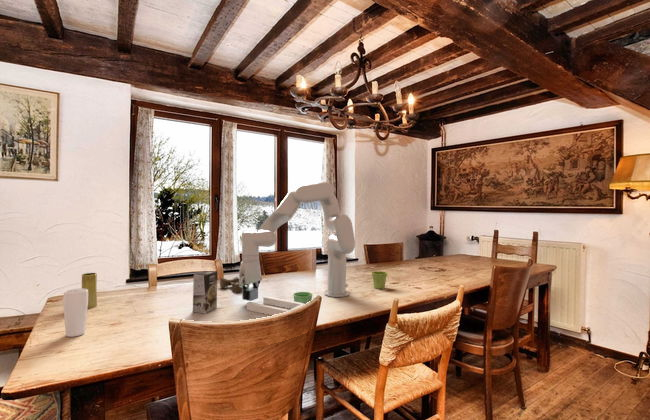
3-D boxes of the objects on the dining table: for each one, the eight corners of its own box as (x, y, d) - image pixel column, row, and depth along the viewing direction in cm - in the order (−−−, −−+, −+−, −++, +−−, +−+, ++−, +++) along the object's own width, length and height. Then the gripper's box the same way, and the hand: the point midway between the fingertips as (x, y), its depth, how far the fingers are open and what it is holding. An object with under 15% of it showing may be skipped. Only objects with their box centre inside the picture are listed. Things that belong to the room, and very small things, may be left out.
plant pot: (367, 288, 185) (368, 272, 185) (375, 285, 193) (375, 270, 193) (383, 290, 180) (383, 275, 180) (390, 287, 188) (390, 272, 188)
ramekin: (299, 307, 147) (299, 297, 147) (289, 302, 154) (289, 293, 154) (316, 304, 152) (316, 295, 152) (305, 299, 160) (305, 290, 160)
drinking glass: (71, 330, 115) (72, 288, 115) (92, 330, 115) (92, 288, 115) (57, 338, 108) (58, 293, 108) (79, 338, 109) (80, 293, 108)
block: (249, 296, 154) (249, 287, 154) (258, 298, 151) (258, 288, 151) (242, 299, 149) (242, 289, 149) (250, 300, 147) (250, 291, 147)
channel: (266, 302, 153) (266, 296, 153) (306, 310, 142) (306, 303, 142) (246, 309, 142) (246, 302, 142) (289, 319, 131) (289, 311, 131)
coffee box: (206, 313, 136) (206, 274, 136) (192, 312, 137) (192, 274, 137) (217, 307, 145) (218, 270, 145) (204, 306, 146) (205, 270, 146)
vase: (100, 305, 144) (101, 273, 144) (86, 309, 138) (87, 275, 138) (90, 303, 146) (91, 272, 146) (76, 307, 140) (77, 274, 140)
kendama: (230, 295, 167) (216, 286, 183) (248, 292, 173) (233, 284, 189) (231, 283, 167) (217, 275, 183) (248, 281, 173) (233, 274, 189)
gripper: (256, 255, 159) (256, 292, 159) (230, 260, 144) (231, 301, 145) (268, 256, 155) (269, 294, 156) (243, 261, 141) (243, 303, 141)
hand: (250, 297), depth 150 cm, fingers closed on block, 5 cm apart
